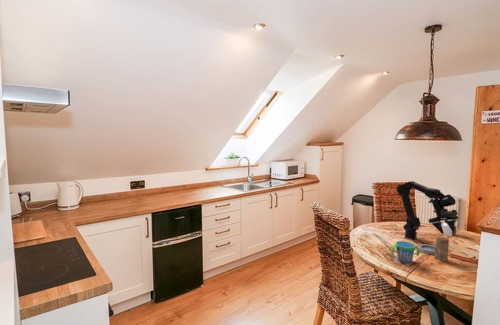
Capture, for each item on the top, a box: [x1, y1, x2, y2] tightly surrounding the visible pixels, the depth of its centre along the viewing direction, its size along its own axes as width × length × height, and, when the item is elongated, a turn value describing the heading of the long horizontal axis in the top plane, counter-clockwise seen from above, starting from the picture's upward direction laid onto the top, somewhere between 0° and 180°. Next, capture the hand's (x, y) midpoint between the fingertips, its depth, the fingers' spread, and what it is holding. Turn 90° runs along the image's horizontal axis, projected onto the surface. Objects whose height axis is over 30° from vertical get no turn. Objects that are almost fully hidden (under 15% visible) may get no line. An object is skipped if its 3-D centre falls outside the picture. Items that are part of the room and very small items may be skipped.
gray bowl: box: [417, 243, 436, 256], centre depth 179 cm, size 12×12×2 cm
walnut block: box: [434, 236, 450, 262], centre depth 166 cm, size 5×5×13 cm
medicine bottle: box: [441, 220, 457, 237], centre depth 208 cm, size 7×7×12 cm
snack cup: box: [390, 240, 420, 264], centre depth 165 cm, size 16×10×10 cm
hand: (448, 232), depth 174 cm, fingers open, 9 cm apart
